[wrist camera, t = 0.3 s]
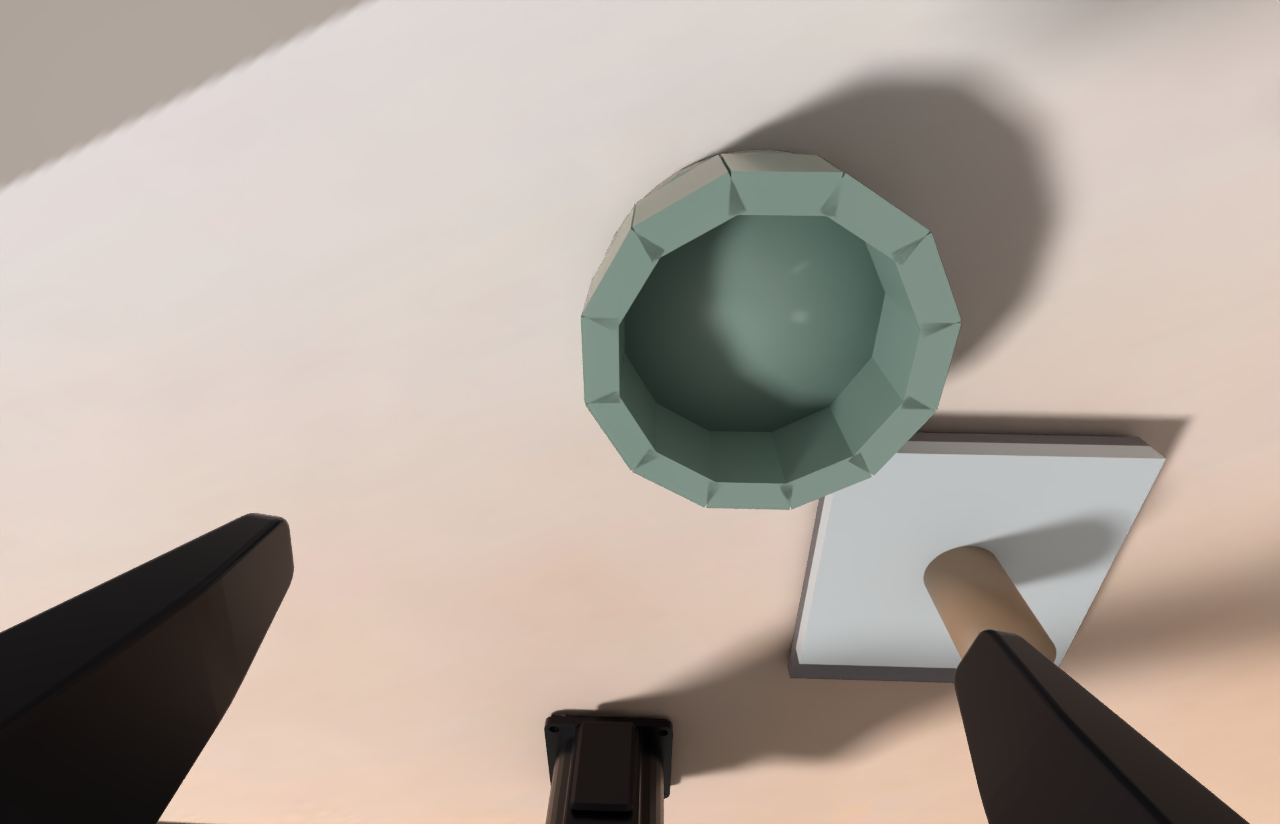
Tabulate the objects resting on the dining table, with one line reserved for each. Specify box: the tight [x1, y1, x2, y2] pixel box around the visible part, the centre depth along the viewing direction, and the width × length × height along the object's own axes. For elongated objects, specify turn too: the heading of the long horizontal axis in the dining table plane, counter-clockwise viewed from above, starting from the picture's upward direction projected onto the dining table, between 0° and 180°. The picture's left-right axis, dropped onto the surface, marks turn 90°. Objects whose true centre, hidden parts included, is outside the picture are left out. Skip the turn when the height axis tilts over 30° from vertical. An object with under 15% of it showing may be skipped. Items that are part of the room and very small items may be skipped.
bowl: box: [581, 149, 961, 510], centre depth 19 cm, size 10×10×4 cm
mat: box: [788, 433, 1149, 683], centre depth 25 cm, size 13×11×1 cm
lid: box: [796, 441, 1166, 668], centre depth 23 cm, size 11×11×5 cm
